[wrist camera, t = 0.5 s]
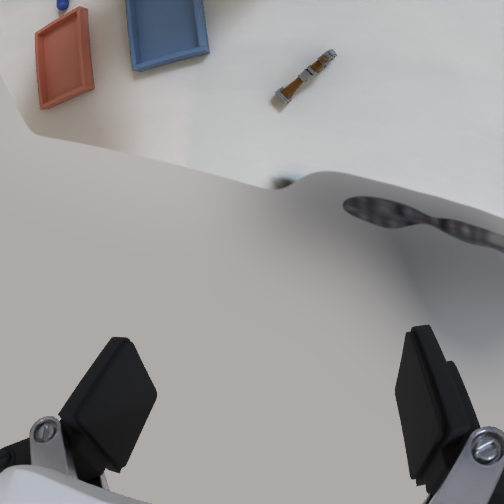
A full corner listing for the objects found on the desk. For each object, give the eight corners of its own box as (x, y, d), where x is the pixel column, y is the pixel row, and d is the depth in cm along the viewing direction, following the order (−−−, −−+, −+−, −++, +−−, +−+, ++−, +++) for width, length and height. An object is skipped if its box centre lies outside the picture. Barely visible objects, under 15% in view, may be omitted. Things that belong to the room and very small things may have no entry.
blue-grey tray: (131, -12, 27) (124, -16, 26) (197, -34, 26) (192, -40, 24) (140, 71, 33) (132, 70, 31) (209, 53, 31) (205, 50, 29)
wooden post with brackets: (346, 54, 28) (339, 57, 25) (298, 95, 34) (285, 104, 31) (334, 42, 28) (326, 44, 25) (287, 84, 33) (274, 92, 30)
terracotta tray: (43, 34, 30) (34, 33, 29) (87, 8, 29) (79, 6, 27) (49, 108, 36) (40, 109, 34) (94, 88, 34) (85, 88, 32)
